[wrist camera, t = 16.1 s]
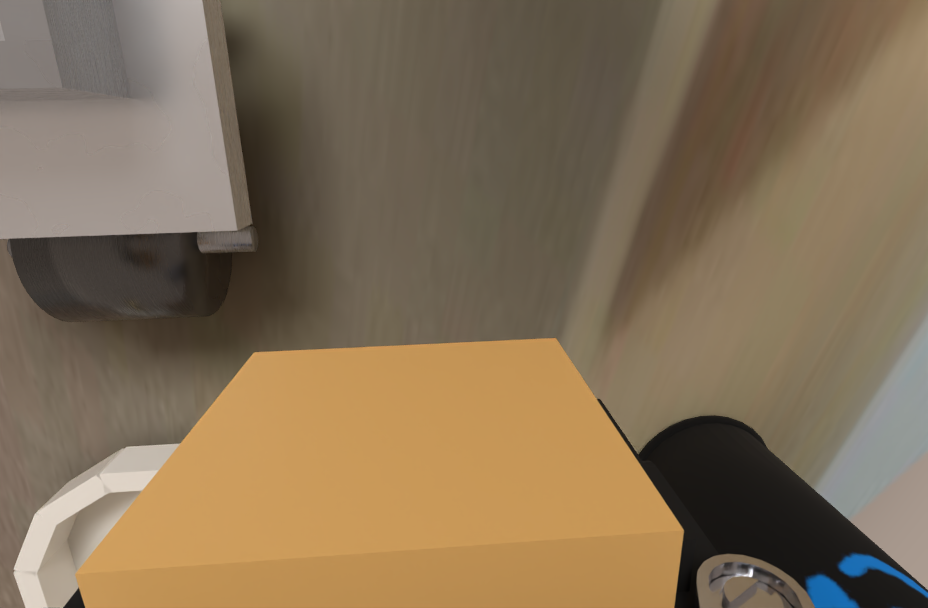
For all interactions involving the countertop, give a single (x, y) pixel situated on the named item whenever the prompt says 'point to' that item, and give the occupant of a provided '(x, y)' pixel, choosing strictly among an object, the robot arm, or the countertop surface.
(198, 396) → the countertop surface
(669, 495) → the robot arm
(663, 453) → the aerosol can
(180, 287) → the white stand
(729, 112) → the countertop surface
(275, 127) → the countertop surface
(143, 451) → the dish
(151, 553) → the orange cube
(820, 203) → the countertop surface
